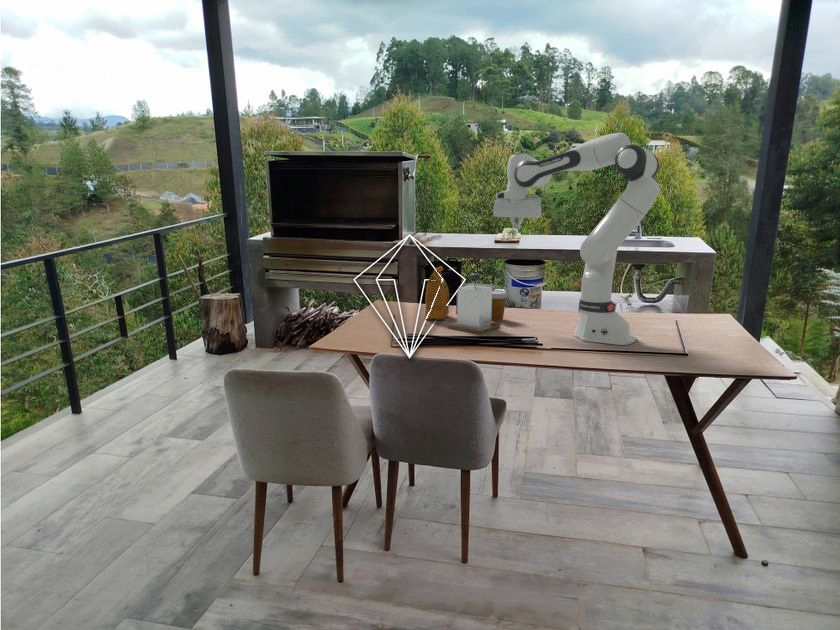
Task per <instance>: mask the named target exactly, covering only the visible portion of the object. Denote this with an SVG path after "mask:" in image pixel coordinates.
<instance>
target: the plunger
mask: <svg viewBox="0 0 840 630" xmlns="http://www.w3.org/2000/svg"><path fill="white" fill-rule="evenodd" d="M469 279H472V280H473V285H474V288H477V285H478V280H480V279H482V274H481V273H477V272H476V273H469Z"/></svg>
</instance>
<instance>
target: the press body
mask: <svg viewBox="0 0 840 630" xmlns="http://www.w3.org/2000/svg"><path fill="white" fill-rule="evenodd" d="M492 290H493V286H486V285H485V286H484V285H480V284H479V285H478V284H477V288H474V284H468V285H465V286H461V287H458V288H457V292H456V294H455V296H456V303H455V304H456V306H455V307H456V308H455V309H456V310H455V315H456V316H457V317H456V318H457V319H456V321H455V322H452V323H449V324H448V325H447V327H448V328H447V329H451V330H457V331H462V332H468V333H474V334H480V335H484V334H487V333H489V332H491V331H493V330H497V329H499V328H500V327H501V323H499V322H494V321H491V311H492Z"/></svg>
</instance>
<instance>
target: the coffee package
mask: <svg viewBox="0 0 840 630" xmlns="http://www.w3.org/2000/svg"><path fill="white" fill-rule="evenodd" d="M434 269H436V270H437V272H438V273H439V274H440V275H441V277H442V278H443V279H444V277H443V273H442V271H444V268H443V266H442V265H440V266H438V267H435V268H434ZM437 272H436V271H435V270H433V273H431V275H430V277H429V278H428V280H427V282H426V287H425V297H424V298H425V299H424V300H425V301H424V302H425V312H424V314H425V315H424V318H426V316H427V314H428V312H429V311H430V309H431V305H432V302H433V300H434V297H435V295H436V292H437V290H438V287H439V285H440V289H439V291H438V294H437V297H436V299H435V302H434V305H433V307H432V311H431V312H430V314H429V316H428V319H426V320H427V321H428V320H431V321H433V319H434V320H436V319H438V320H439V321H440V320H444V319H445V318H446V317H447V316H448V315H449V312H450V311H449V308H450V307H449V305H450V304H449V305H448V306H446V304H447V303H448V302H449V303H450V291H449V286H448V284H447V282H446V280H445V279H444V281H443V282H442V283H441V278H440V276H439V275H438V274H437ZM431 280H436V281H431Z"/></svg>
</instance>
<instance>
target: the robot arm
mask: <svg viewBox="0 0 840 630" xmlns="http://www.w3.org/2000/svg"><path fill="white" fill-rule="evenodd" d="M612 165H615V167H616V169H617V171H618V173H620V175H621V177H622V178H623V179H624V180H625V181H626V182H627V186H626V188H625V189H624V191H623V192H622V194H621V195H620V196H619V198H617V200H616V202H615V203H613V205H612V207H611V208H610V209H609V211H608V212H607V213H606V215H605V216H604V217H602V219H601V220H600V221H599V222H598V223H597V225H596V226H595V227H594V228H593V229H592V230H591V232H590V233H589V234H588V236H587V237H586V238H585V239H584V241H583V242H582V244H581V245H580V249H579V254H580V259H581V260H582V261H583V262H584V263H585V264H584V269H583V275H582V277H581V289H580V291H581V292H580V298H579V303H578V320H577V325H576V327H575V331H574V334H573V335H574V336H575V338H578V339H580V340H581V341H582V342H588V343H598V344H608V345H609V344H610V345H617V346H627V345H630V344H633V343H635V342H636V341H637V337H636V335H634V334H631V327H630V324H629V322H628V321H627V320H626V319H625V318H624V317H622V316H621V315H620V314H619V313H618V312H617V311H616V310H617V309H616V307H617V304H618V303H617V302H616V303H615V302H613V300H612V290H613V281H614V280H613V279H614V273H615V268H616V262H617V254H618V249H619V248H620V247H621V245H622V244H623V242H625V241H626V239H627V238H628V237H629V236H630V234H632V232H633V231H634V230H635V229H636V227H637V226H638V225H639V224H640V222H641V221H642V220H643V219H644V218H645V216H646V215H647V213H648V212H649V211H650V210H651V208H652V206H653V204H655V201H656V200H657V198H658V197H659V194H660V191H661V188H660V187H661V186H660V185H659V183H658V182H657V180H656V179H654V177H656V175H657V173H658V172H659V169H660V161H659V159H658V157H657V156H656V154H654V153H653V152H651V151H650V150H649V149H648V148H646V147H643V146H640V145H638V144H632V143H631V140H630V138H629V136H628V135H627V133H624V132H614V133H609V134H604V135H600V136H598V137H595V138H592V139H589V140H587V141H586V142H583V143H581V144H579V145H576V146H575V147H572V148H570V149H568V150H567V151H564V152H561V153H558V154H555V155H553V156H549V157H546V158H543V159H540V160H538V159H536V158H534V157H532V156H531V155H530V154H529V153H526V152H521V153H516V154H512V155H511V156H510V157H509V158H508V161H507V169H506V170H507V171H506V178H507V184H506V190H503V191H501V192H498V193H495V199H496V200H494V204H493V211H492V212H493V213H492V214H493V216H494V217H495V218H497V217H498V218H509V221H510V223H511V224H512V229H513V230H514V229H515V230H520V229H521V225H522V223H523V222H524V220H525V218H526V219H539V218H541V216H542V206H541V204H542V197H541V196H539V195H538V194H529V193H530V191H529V190H530V188H531V187H542V186H546V185H547V184H549V183H550V182H551V180H552V178H553V175H554V174H558V173H560V172H565V171H566V172H567V171H578V172H579V171H581V172H582V171H583V172H586V171H587V172H589V171H594V170H595V171H596V170H600V169H602V168H606V167H608V166H609V167H610V166H612ZM516 219H518V223H516V222H515V221H516Z"/></svg>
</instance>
